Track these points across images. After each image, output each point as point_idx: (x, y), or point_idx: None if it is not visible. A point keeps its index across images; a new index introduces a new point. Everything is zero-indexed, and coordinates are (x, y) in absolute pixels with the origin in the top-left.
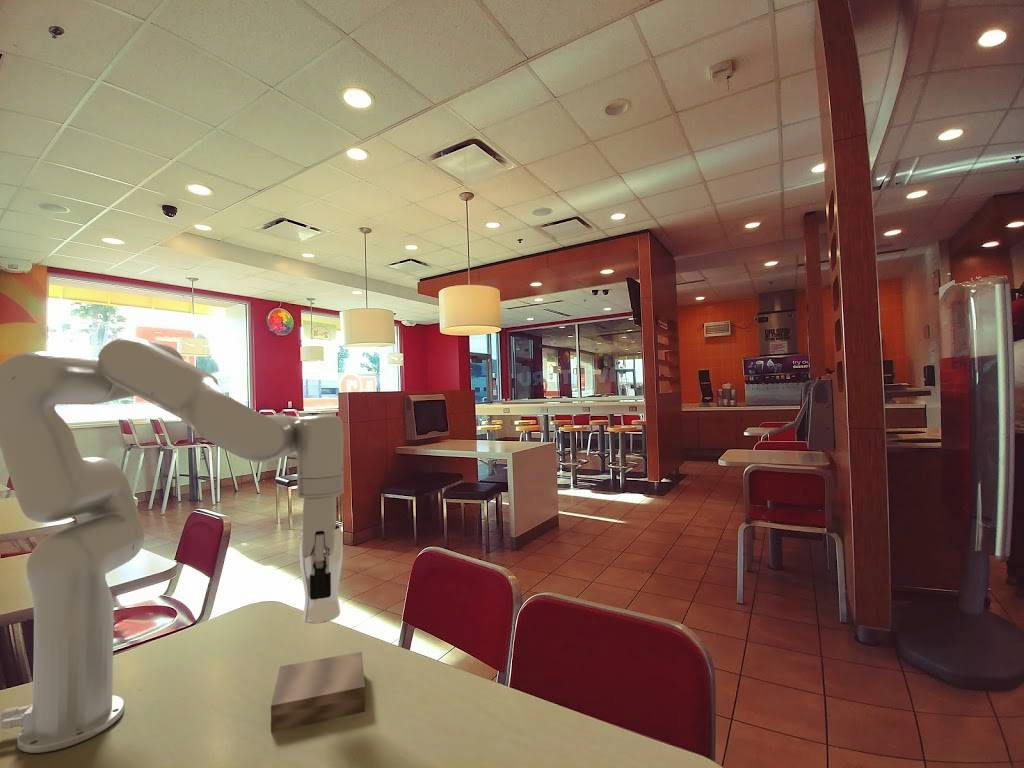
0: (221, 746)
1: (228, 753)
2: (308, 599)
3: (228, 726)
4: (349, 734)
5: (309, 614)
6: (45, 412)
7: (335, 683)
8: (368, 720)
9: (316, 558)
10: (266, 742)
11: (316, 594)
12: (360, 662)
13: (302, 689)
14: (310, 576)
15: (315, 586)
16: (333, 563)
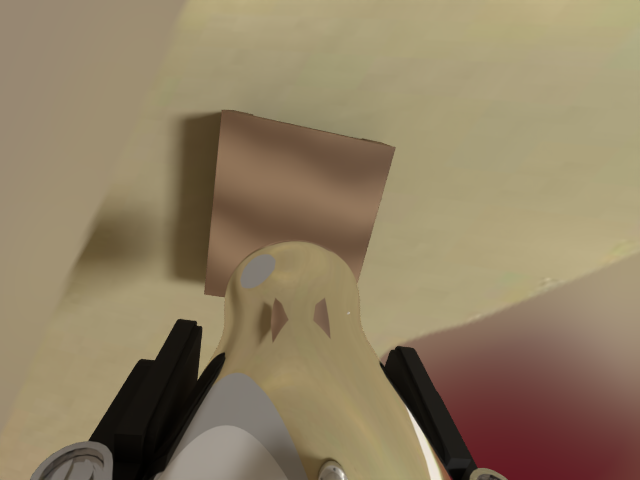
0: (231, 8)
1: (200, 22)
2: (254, 301)
3: (299, 25)
4: (160, 237)
5: (247, 271)
6: None
7: (246, 247)
8: (186, 271)
9: None
10: (202, 98)
11: (143, 360)
12: None
13: (256, 182)
14: (117, 428)
15: (120, 393)
16: None
